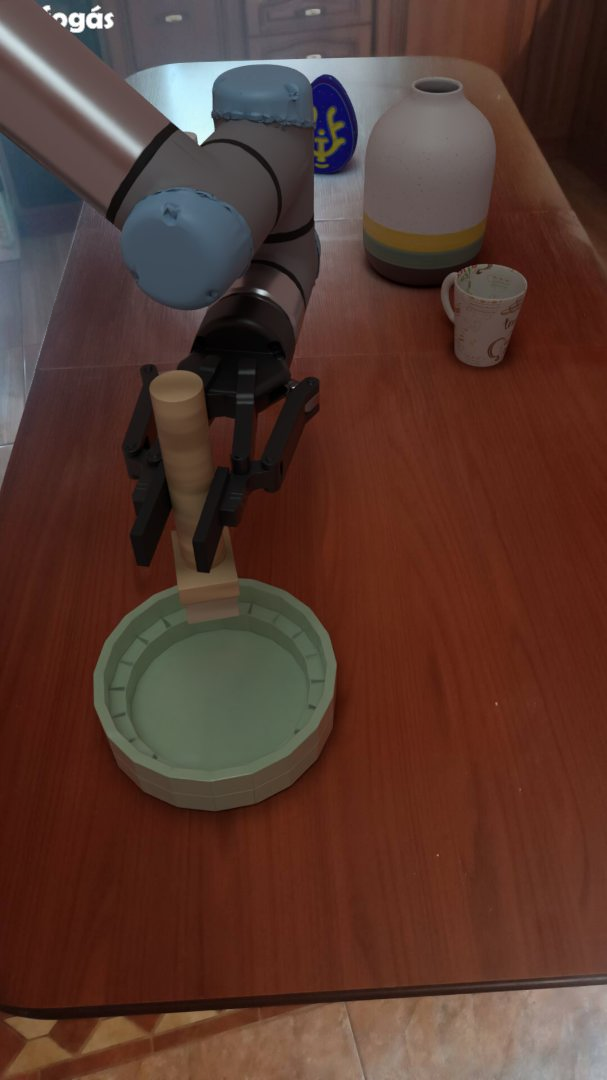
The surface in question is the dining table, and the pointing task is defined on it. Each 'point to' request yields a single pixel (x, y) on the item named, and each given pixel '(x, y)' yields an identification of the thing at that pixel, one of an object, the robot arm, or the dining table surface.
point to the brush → (192, 494)
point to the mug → (483, 311)
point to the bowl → (217, 697)
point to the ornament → (332, 125)
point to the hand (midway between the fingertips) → (170, 553)
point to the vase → (427, 184)
